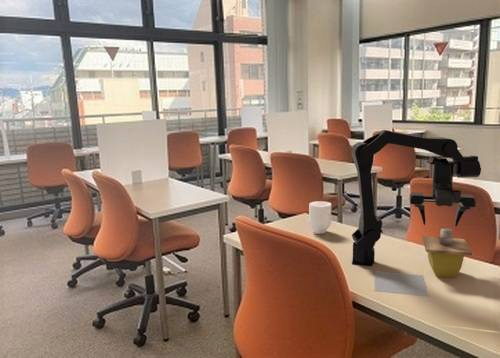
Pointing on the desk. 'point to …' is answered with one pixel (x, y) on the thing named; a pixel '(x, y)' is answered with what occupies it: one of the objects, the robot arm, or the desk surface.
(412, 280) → the tray
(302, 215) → the desk surface
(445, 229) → the lid
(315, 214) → the mug
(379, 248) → the desk surface
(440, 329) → the desk surface
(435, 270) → the flower pot
